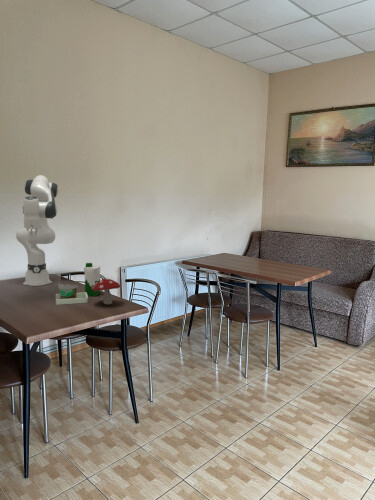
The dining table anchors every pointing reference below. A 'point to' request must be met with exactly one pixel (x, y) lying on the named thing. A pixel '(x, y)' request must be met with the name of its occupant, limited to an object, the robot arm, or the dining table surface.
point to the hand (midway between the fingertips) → (33, 248)
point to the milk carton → (91, 278)
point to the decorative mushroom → (106, 288)
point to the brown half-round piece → (67, 291)
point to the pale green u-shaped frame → (72, 299)
